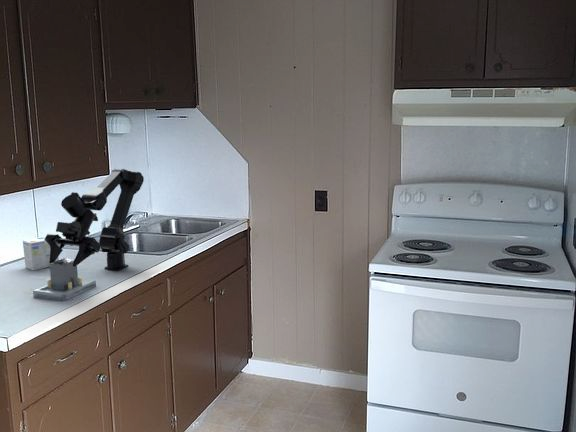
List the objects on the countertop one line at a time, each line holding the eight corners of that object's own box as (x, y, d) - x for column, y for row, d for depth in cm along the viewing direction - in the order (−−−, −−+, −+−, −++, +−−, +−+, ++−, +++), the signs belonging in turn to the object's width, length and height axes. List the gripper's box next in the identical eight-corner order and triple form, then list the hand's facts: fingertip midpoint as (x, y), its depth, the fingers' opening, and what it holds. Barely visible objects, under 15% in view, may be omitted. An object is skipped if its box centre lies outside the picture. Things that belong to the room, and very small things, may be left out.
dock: (66, 282, 203) (65, 270, 202) (95, 285, 199) (95, 273, 198) (33, 296, 188) (32, 284, 187) (64, 301, 184) (63, 288, 184)
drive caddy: (66, 283, 198) (64, 257, 196) (79, 285, 196) (77, 259, 194) (51, 290, 191) (49, 263, 189) (64, 291, 189) (62, 265, 188)
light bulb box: (50, 261, 229) (48, 234, 227) (60, 264, 224) (57, 237, 222) (24, 267, 221) (21, 239, 218) (33, 270, 216) (30, 242, 214)
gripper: (45, 210, 196) (24, 250, 188) (92, 213, 190) (72, 255, 182) (63, 228, 205) (44, 266, 197) (108, 231, 199) (90, 272, 191)
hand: (62, 264), depth 191 cm, fingers open, 9 cm apart
